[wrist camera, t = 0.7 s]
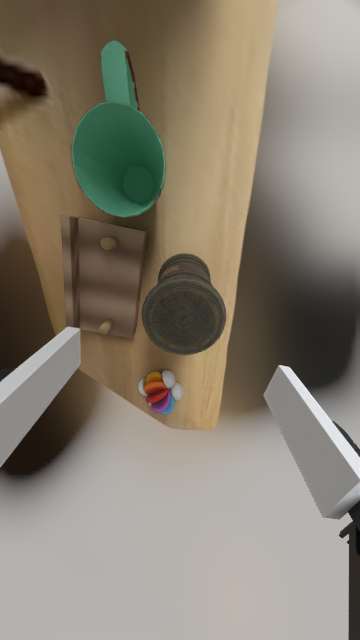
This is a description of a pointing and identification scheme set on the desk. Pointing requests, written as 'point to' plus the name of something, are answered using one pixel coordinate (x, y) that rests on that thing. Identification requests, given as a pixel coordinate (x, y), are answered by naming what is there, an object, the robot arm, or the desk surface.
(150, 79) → the desk surface
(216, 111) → the desk surface
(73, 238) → the ledge
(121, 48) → the mug
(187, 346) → the container
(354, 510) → the robot arm
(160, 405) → the rainbow striped lobed toy
